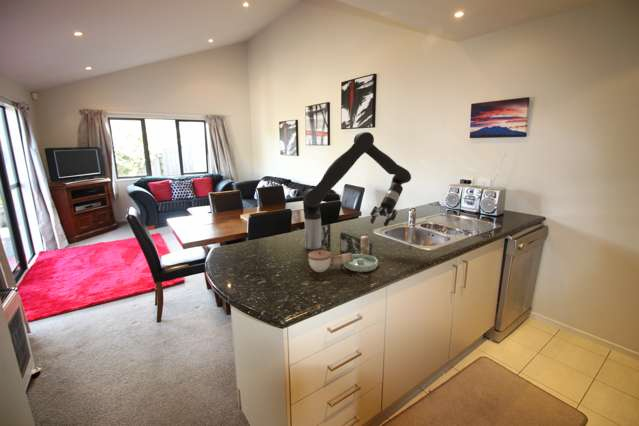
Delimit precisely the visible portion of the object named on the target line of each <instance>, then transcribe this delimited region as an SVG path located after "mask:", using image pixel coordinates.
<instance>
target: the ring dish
mask: <svg viewBox="0 0 639 426" xmlns="http://www.w3.org/2000/svg"><path fill="white" fill-rule="evenodd" d="M351 254H352V257H353V261H352V262H349V263H345V264H343V266H344V268H345V269H348V270H350V271H353V272H361V273H362V272H370V271H373V270H376V269H377V267H378V266H379V260H378V259H377V257H376V256H373V255H370V254H369V255H366V254H361V253H351Z"/></svg>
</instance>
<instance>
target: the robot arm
mask: <svg viewBox="0 0 639 426" xmlns="http://www.w3.org/2000/svg"><path fill="white" fill-rule="evenodd" d="M374 142H375V138H374V134H372V133H371V132H369V131H363V132H359V133H357V134H356V135H355V136H354V138H353V144H352V145H351V147H349V148H348V150H346V151H345V152H344V153H342V154H341V155H340V156H338V157H337V158H336V159H335V160H334V161H333V162H332V163H331V164H330V165H329V167H328V168H327V169H326V171H325V172H324V175H323V176H322V178H321V180H320V181H319V183H318V184H316V185H315V187H313V188H308V189H306V190H305V191H304V192H303V196H302V201H303V203H302V205H303V215H304V216H303V217H304V241H305V243H304V246H305V250H320V249H321V248H322V244H323V243H322V213H321V209H320V208H321V207H320V206H321V205H320V204H321V203H322V201H323V200H324V199H325V198H326V196H327V194H328V193H329V192H330V191H331V190H332V189H333V188H334V187H335V186H336V185H337V184H338V183H339V182H340V180H342V178H344V176H345V175H346V174H347V173H348V172H349V171H350V169H351V168H353V166H354V165H355V164H356V162H357V161H358V159H360V157H361V156H362V155H364V154H365V155H368V156H369V157H370V158H371V159H373V161H375V162H376V163H377V164H378V166H380V167H381V168H382V169H383V170H385V172H386V173H387V174H388V175H393V176H392V179H391V183H390V186H389V188H388V190H387V192H386V194H385V195H384V198H383V199H382V201H381V202H380V206H379V207H378V206H376V205H375V206H374V207H373V208H372V209H371V212H370V217H371V219H370V220H369V221H370V224H372V225H373V224H374V223H375V221H376V219H377V218H379V217H386V219H385V221H383V222H384V223H383V226H384V227H387V226H388V225H389V224H390V222H391V221H392V222H394V221H395V220H396V216H398V215H397V214H398V211H397V210H396V208H395V207H396V205H397V203H398V201H399V198H400V196H401V194H402V192H403V186H402V185H403V184H407V183H409V182H410V181H411V179H412V175H411V173H410V171H409V170H408V169H406V168H404V167H403V166H401V165H399V164H397V162H395V160H394V159H392V158H391V156H389V155H387V154H386V153H385V152H383V151H382V150H381V149H379V148H378V147H377V146H376V145H375V144H374Z"/></svg>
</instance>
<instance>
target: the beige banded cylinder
mask: <svg viewBox="0 0 639 426" xmlns="http://www.w3.org/2000/svg"><path fill="white" fill-rule="evenodd" d="M352 254H353V253H352V252H351V251H350V252H345V253H343V254H339V255H335V256H331V263H330V264H331V266H332V267H335V266H336V267H337V266H340V265H344V264H345V263H349V262H352V261H353V257H352Z"/></svg>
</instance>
